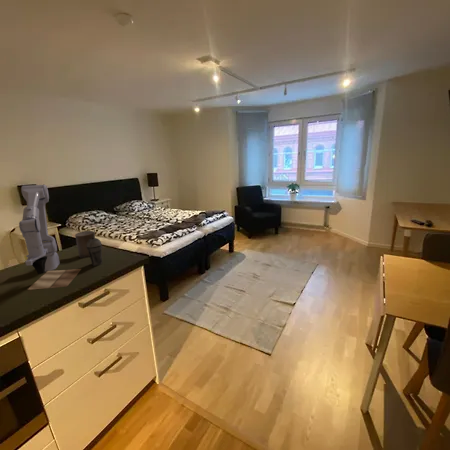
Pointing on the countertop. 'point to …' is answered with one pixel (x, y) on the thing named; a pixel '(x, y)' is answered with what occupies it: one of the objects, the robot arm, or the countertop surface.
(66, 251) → the countertop surface
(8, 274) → the countertop surface
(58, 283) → the laid board
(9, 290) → the countertop surface
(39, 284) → the plank
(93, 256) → the beverage cup
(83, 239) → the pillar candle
